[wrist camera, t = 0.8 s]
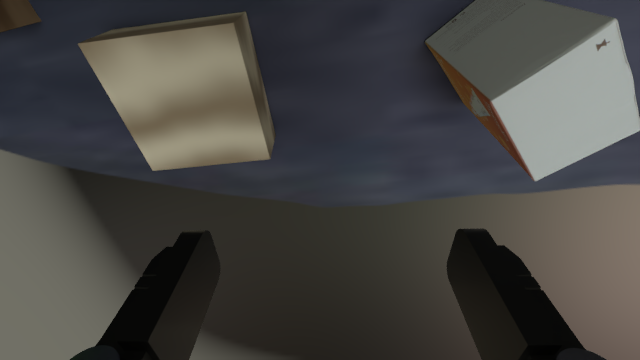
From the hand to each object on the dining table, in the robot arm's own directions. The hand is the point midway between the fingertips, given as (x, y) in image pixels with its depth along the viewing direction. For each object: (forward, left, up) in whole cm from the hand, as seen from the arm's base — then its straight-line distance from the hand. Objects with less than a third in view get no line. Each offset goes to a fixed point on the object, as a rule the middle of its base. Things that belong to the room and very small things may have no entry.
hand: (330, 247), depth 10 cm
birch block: (+2, -12, -22) cm, 26 cm away
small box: (+2, +14, -22) cm, 26 cm away
